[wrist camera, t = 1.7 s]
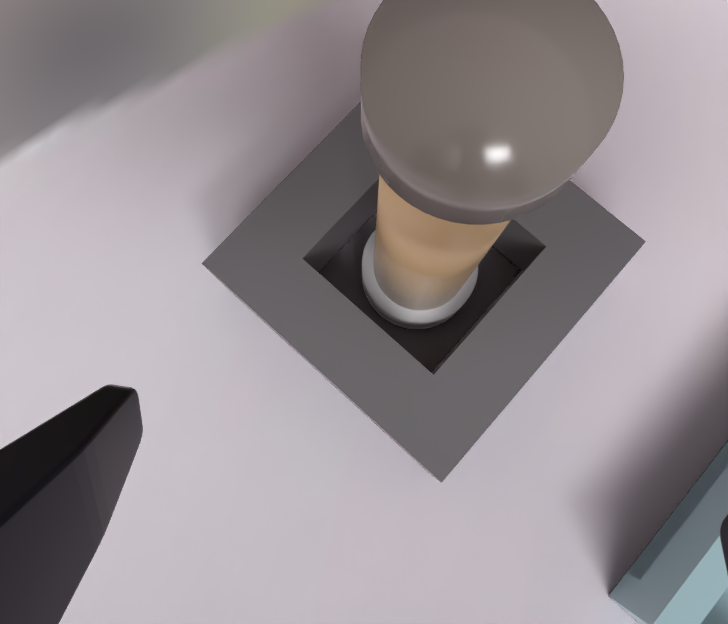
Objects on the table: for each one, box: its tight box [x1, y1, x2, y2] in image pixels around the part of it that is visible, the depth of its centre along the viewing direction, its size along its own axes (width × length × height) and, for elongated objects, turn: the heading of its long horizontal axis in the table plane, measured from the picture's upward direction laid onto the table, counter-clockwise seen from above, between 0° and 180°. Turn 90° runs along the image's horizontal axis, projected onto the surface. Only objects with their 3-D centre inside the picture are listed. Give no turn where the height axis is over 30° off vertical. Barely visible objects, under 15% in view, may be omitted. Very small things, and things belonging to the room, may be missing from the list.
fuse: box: [361, 0, 624, 329], centre depth 15 cm, size 4×4×13 cm
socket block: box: [202, 102, 646, 482], centre depth 20 cm, size 10×10×3 cm
